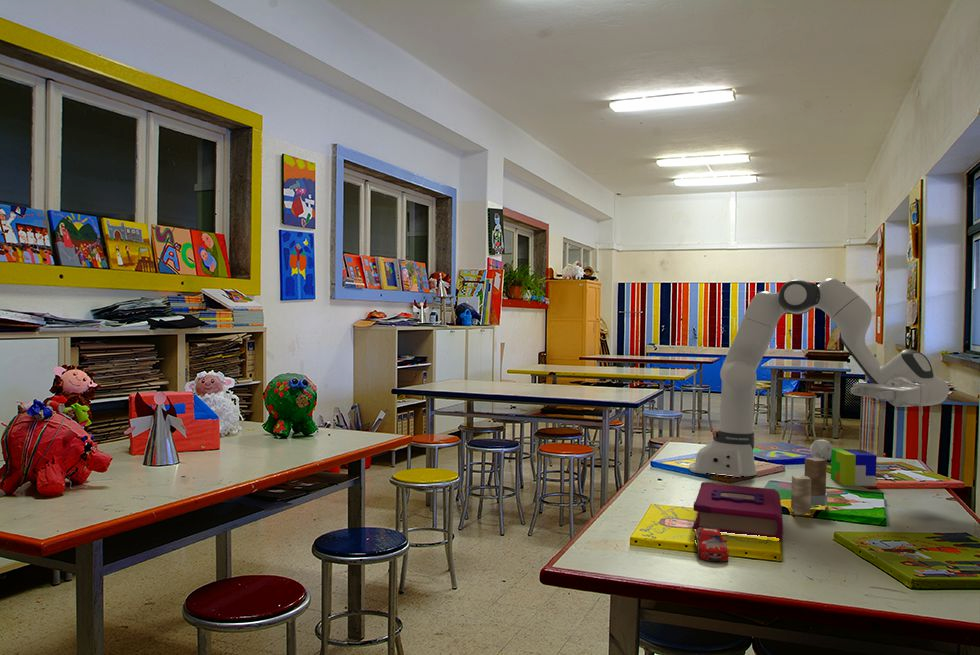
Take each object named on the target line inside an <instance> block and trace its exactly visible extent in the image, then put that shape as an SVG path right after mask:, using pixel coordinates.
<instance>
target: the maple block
mask: <svg viewBox="0 0 980 655" xmlns="http://www.w3.org/2000/svg"><path fill="white" fill-rule="evenodd" d="M790 493H791V498H790V509H791V508H792V509H793V512H794V513H793V512H792V513H793V515H794V516H802V515H801V514H806V513H810V514H811V509H810V508H811V479H810V478H809V477H808V476H805V475H797V474H796V475H793V474H792V475H791V492H790Z"/></svg>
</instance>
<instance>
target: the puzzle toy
mask: <svg viewBox="0 0 980 655" xmlns="http://www.w3.org/2000/svg"><path fill="white" fill-rule="evenodd" d="M830 479H832V480H833V481H835V482H838V483H839V484H841V485H843V486H857V487H858V486H859V487H861V486H862V487H876V484H877V454H873V453H871V452H869V451H866V450H863V449H852V448H849V449H848V448H847V449H846V448H834V449H832V453H831V459H830Z"/></svg>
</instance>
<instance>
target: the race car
mask: <svg viewBox="0 0 980 655" xmlns="http://www.w3.org/2000/svg"><path fill="white" fill-rule="evenodd" d="M695 540H696V543H697V549H696V552H697V554H698V558H699V560H705V561H712V562H729V555H730V554H729V548H728V546H727V544H726V543H727V542H728V540H727V539H724V537H723V535H721V533H720V531H719V530H718V529H716V528H707V527H702V528H701V527H700V528H697V529H696V532H694V541H695Z"/></svg>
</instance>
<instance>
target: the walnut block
mask: <svg viewBox="0 0 980 655" xmlns="http://www.w3.org/2000/svg"><path fill="white" fill-rule="evenodd" d="M827 462H828V461H827V460H824V459H821V458H817V457H813V456H812V457H805V458H804V476H808V477H809V478H810V479H811V495H813V496H821V495H826V493H827V492H826V491H827V467H828V465H827V464H828V463H827Z"/></svg>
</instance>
